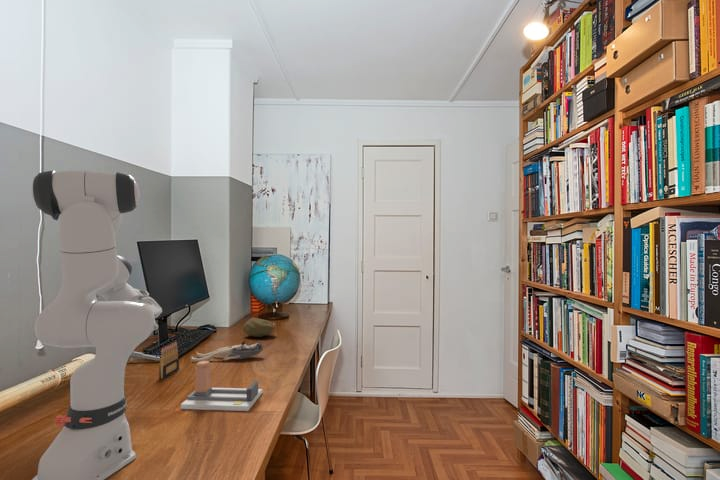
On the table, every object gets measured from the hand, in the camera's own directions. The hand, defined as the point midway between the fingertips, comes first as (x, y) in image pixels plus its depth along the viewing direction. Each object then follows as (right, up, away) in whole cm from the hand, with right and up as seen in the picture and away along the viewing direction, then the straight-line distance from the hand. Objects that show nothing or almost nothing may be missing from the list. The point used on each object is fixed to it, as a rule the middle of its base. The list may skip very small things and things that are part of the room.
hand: (153, 330), depth 132 cm
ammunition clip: (-6, -23, +24) cm, 34 cm away
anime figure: (+11, -23, +43) cm, 51 cm away
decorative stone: (+15, -23, +81) cm, 86 cm away
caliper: (-22, -23, +39) cm, 51 cm away
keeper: (+17, -22, -1) cm, 28 cm away
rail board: (+24, -23, -1) cm, 34 cm away
